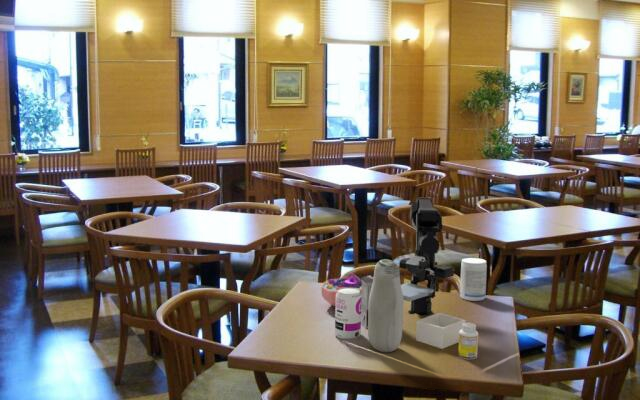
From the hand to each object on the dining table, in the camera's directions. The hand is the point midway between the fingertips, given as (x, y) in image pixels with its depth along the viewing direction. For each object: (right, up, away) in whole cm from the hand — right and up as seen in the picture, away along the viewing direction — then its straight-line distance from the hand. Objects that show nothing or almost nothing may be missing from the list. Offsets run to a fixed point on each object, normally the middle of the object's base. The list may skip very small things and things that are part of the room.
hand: (424, 292), depth 240 cm
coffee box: (-16, -11, +1) cm, 20 cm away
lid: (-4, 0, -4) cm, 6 cm away
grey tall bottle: (-16, -15, -22) cm, 31 cm away
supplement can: (-26, -13, -10) cm, 31 cm away
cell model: (-26, -8, +21) cm, 34 cm away
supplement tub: (+23, -7, +35) cm, 42 cm away
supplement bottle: (+9, -16, -26) cm, 32 cm away
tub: (+3, -14, -13) cm, 19 cm away
